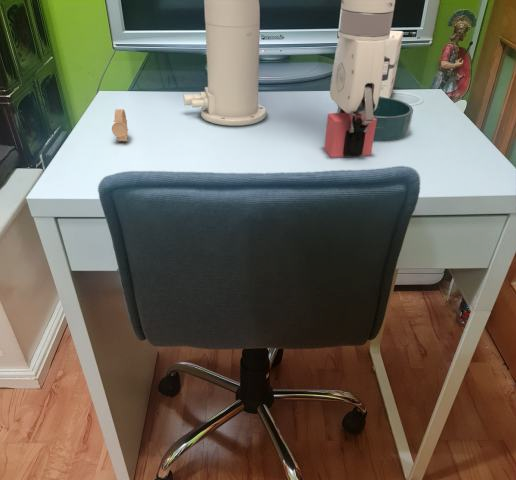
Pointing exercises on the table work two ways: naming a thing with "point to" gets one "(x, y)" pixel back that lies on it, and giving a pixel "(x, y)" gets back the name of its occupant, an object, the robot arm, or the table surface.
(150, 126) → the table surface
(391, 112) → the bowl
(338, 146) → the eraser
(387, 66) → the ink box
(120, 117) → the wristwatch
